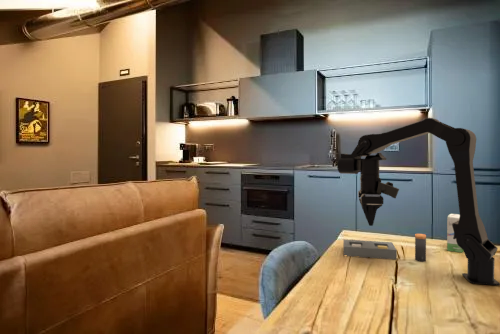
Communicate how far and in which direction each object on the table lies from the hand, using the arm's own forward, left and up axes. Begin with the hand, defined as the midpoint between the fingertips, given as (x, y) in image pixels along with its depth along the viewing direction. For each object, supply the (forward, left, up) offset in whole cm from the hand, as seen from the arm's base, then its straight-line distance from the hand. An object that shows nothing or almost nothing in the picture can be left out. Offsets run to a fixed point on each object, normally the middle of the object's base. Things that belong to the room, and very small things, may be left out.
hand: (369, 222), depth 107 cm
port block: (+4, 0, -11) cm, 12 cm away
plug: (0, -15, -11) cm, 19 cm away
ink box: (+17, -30, -11) cm, 36 cm away
